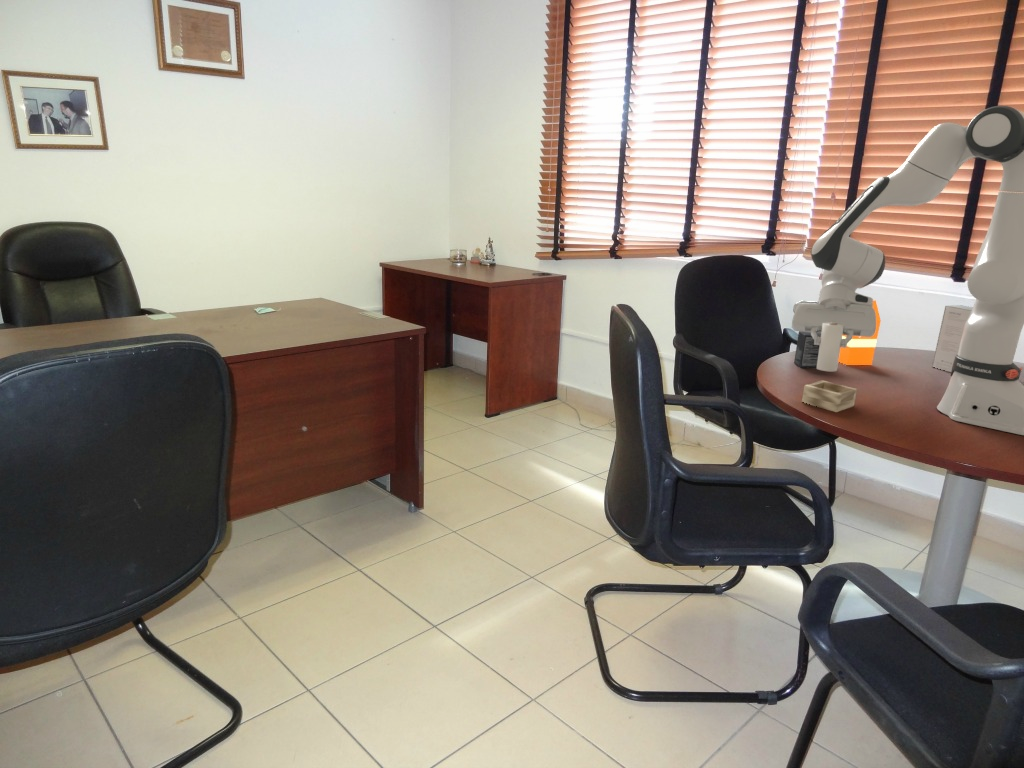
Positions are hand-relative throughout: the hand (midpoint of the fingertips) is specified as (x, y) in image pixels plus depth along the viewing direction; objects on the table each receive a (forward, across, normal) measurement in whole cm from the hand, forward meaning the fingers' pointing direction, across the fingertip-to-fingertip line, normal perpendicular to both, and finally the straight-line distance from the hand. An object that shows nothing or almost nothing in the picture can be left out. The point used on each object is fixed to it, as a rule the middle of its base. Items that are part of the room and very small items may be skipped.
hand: (830, 345), depth 173 cm
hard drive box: (-25, +38, +45) cm, 63 cm away
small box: (-12, -4, +30) cm, 33 cm away
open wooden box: (+16, +1, +2) cm, 17 cm away
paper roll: (+4, 0, +5) cm, 7 cm away
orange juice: (-21, +7, +40) cm, 45 cm away
